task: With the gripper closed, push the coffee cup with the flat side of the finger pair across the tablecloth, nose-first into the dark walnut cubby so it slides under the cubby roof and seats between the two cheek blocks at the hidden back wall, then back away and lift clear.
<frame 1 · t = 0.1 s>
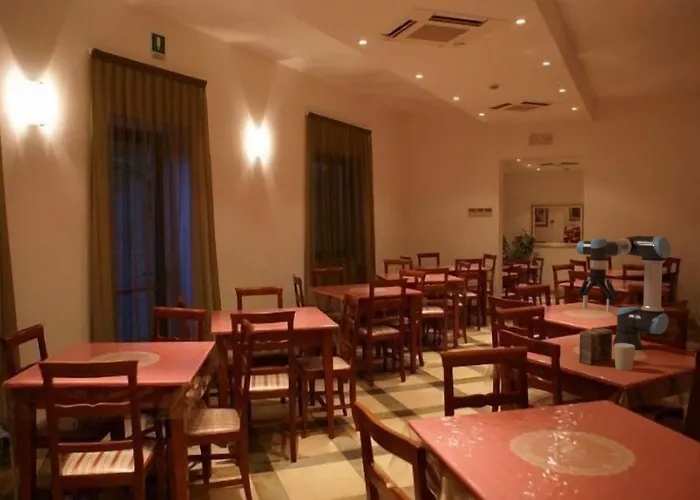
hand: (596, 309, 285), 28 cm above the table, fingers open, 13 cm apart
coffee cup: (624, 369, 276), on the table
cubby: (600, 362, 287), on the table
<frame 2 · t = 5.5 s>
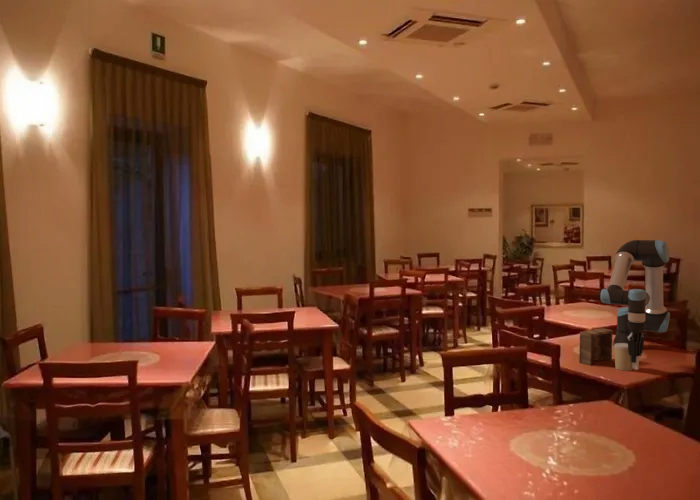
hand: (635, 368, 272), 1 cm above the table, fingers closed
coffee cup: (623, 369, 276), on the table, touching gripper
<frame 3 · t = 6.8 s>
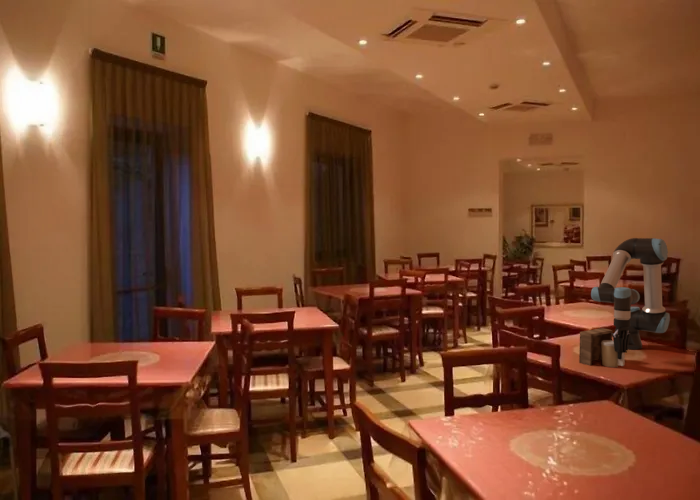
hand: (620, 365, 278), 1 cm above the table, fingers closed
coffee cup: (610, 365, 283), on the table, touching gripper
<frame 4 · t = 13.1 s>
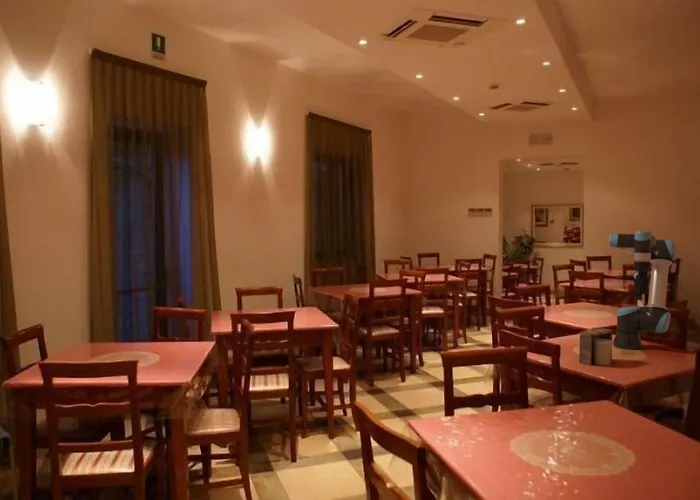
hand: (640, 306, 286), 29 cm above the table, fingers closed
coffee cup: (602, 363, 287), on the table
at the end: coffee cup 0.4 cm off-centre on the cubby, point 0.0 cm above the cubby's base; coffee cup tilted 0° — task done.
